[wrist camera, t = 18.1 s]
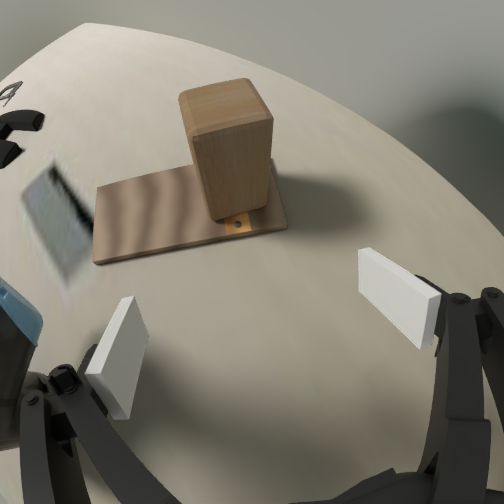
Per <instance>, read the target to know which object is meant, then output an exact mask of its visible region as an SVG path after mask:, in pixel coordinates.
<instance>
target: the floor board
mask: <svg viewBox="0 0 504 504" xmlns="http://www.w3.org/2000/svg"><path fill="white" fill-rule="evenodd" d="M287 226H288V223H287V220H286V217H285V213H284V210H283V206H282V203H281V200H280V196H279V193H278V190H277V186H276V183H275V180H274V176H273V173H272V170H271V167H270V171H269V183H268V195H267V204H266V205H265V206H264V207H262V208H258V209H255V210H251V211H248V212H244V213H241V214H237V215H234V216H230V217H227V218H223V219H220V220H217V221H212V220H211V219H210V218H209V217H208V213H207V210H206V207H205V203H204V200H203V196H202V193H201V189H200V186H199V182H198V179H197V175H196V171H195V167H194V164H193V165H188V166H183V167H179V168H174V169H169V170H165V171H160V172H156V173H151V174H147V175H143V176H139V177H135V178H131V179H127V180H123V181H119V182H116V183H112V184H108V185H105V186H101V187H98V188H97V195H96V205H95V217H94V232H93V256H92V262H93V263H94V264H96V265H98V264H103V263H108V262H113V261H118V260H123V259H128V258H133V257H138V256H143V255H148V254H153V253H158V252H163V251H168V250H174V249H179V248H184V247H189V246H194V245H200V244H205V243H210V242H216V241H221V240H227V239H232V238H237V237H243V236H248V235H254V234H260V233H265V232H271V231H276V230H282V229H287Z"/></svg>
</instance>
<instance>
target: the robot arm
mask: <svg viewBox="0 0 504 504" xmlns="http://www.w3.org/2000/svg"><path fill="white" fill-rule="evenodd" d="M358 261H359V292H360V293H362V294H363V295H364V296H365V297H366V298H367V299H368V300H369V301H370V302H371V303H372V304H373V305H374V306H375V307H376V308H377V309H378V310H379V311H381V312H382V313H383V314H384V315H385V316H386V317H387V318H388V319H389V320H390V321H391V322H392V323H393V324H394V325H395V326H396V327H397V328H398V329H399V330H400V331H401V332H402V333H403V334H404V335H405V336H406V337H407V338H408V339H409V340H410V341H411V342H412V343H413V344H414V345H415V346H416V347H417V348H418V349H419V350H421V349H424V348H426V347H428V346H430V345H432V342H433V338H434V334H435V335H436V336H437V337H438V338H439V340H438V345H437V349H436V353H435V357H437V363H436V375H435V385H434V394H433V402H432V409H431V415H430V421H429V427H428V432H427V438H426V442H425V447H424V452H423V456H422V460H421V463H420V465H419V468H418V470H417V472H404V473H398V474H396V473H395V471H394V469H393V468H391V469H389V470H386V471H384V472H382V473H380V474H377V475H375V476H373V477H370V478H368V479H365V480H363V481H361V482H360V483H358V484H357V485H355V486H354V487H352V488H351V489H349V490H347V491H346V492H344V493H342V494H341V495H339V496H337V497H336V498H334V499H331V500H326V501H314V502H298V503H290V504H504V492H502V491H497V490H491V489H486V486H487V479H488V470H489V460H490V445H491V422H490V420H489V419H484V392H483V375H482V366H483V369H484V372H485V374H486V377H487V380H488V382H489V385H490V388H491V391H492V394H493V397H494V400H495V403H496V407H497V410H498V413H499V417H500V420H501V424H502V428H503V432H504V293H503V292H502V291H501V290H499V289H497V288H494V287H487V288H484V289H483V290H482V292H481V297H480V298H478V299H472V300H471V298H470V297H469V296H468V295H465V294H463V293H452V294H448V293H447V292H445V291H444V290H442V289H441V288H439V287H438V286H436V285H435V284H433V283H432V282H430V281H429V280H427V279H426V278H424V277H421V276H418V275H413V274H411V273H409V272H408V271H406V270H405V269H403V268H402V267H400V266H399V265H397V264H395V263H394V262H392V261H391V260H389V259H387V258H386V257H384V256H383V255H381V254H379V253H378V252H376V251H374V250H373V249H371V248H369V247H368V248H364V249H359V250H358ZM42 327H43V319H42V316H41V314H40V313H39V311H38V310H37V309H36V308H35V307H34V306H33V305H32V304H31V303H30V302H29V301H28V300H26V299H25V298H24V297H23V296H22V295H21V294H20V293H18V292H17V291H16V290H15V289H14V288H13V287H11V286H10V285H9V284H8V283H7V282H6V281H4V280H3V279H2V278H1V277H0V451H3V450H9V449H14V448H19V447H20V467H21V480H22V490H23V499H24V504H91V501H90V498H89V495H88V492H87V489H86V485H85V482H84V478H83V474H82V470H81V467H80V462H79V458H78V454H77V449H76V444H75V439H74V437H78V438H79V440H80V442H81V443H82V445H83V447H84V449H85V450H86V452H87V454H88V455H89V457H90V459H91V460H92V462H93V464H94V465H95V467H96V468H97V470H98V471H99V473H100V474H101V476H102V477H103V479H104V480H105V482H106V483H107V485H108V486H109V488H110V489H111V490H112V492H113V493H114V494H115V496H116V497H117V498H118V500H119V501H120V502H121V504H182V503H181V502H179V501H178V500H177V499H176V498H175V497H174V496H173V495H172V494H171V493H170V492H169V491H168V490H167V489H166V488H165V487H164V486H163V485H162V484H161V483H160V482H159V481H158V480H157V479H156V478H155V477H154V476H153V475H152V474H151V473H150V471H149V470H148V469H147V468H146V467H145V466H144V465H143V464H142V463H141V462H140V460H139V459H138V458H137V457H136V456H135V455H134V453H133V452H132V451H131V450H130V449H129V447H128V446H127V445H126V444H125V442H124V441H123V440H122V439H121V437H120V436H119V435H118V434H117V432H116V431H115V430H114V428H113V427H112V426H111V424H110V423H109V422H108V420H107V419H106V417H107V413H108V412H109V414H110V415H111V416H112V418H113V419H114V420H129V418H130V413H131V408H132V404H133V399H134V395H135V390H136V386H137V382H138V378H139V373H140V369H141V365H142V361H143V357H144V354H145V350H146V346H147V342H148V338H149V334H148V332H147V329H146V327H145V324H144V322H143V319H142V316H141V313H140V311H139V308H138V305H137V302H136V300H135V297H134V296H131V297H125V298H122V300H121V301H120V303H119V305H118V307H117V309H116V311H115V313H114V315H113V316H112V318H111V320H110V322H109V324H108V326H107V328H106V330H105V332H104V334H103V336H102V338H101V340H100V342H99V344H94V345H93V346H92V347H91V348H90V349H89V350H88V351H87V353H86V355H85V357H84V359H83V361H82V364H81V365H80V367H79V369H78V371H77V373H76V371H75V370H74V368H73V367H72V366H71V365H69V364H64V365H60V366H58V367H56V368H54V369H53V370H52V371H51V372H50V373H49V375H48V377H47V376H45V375H44V374H41V373H38V372H30V371H27V370H28V368H29V365H30V362H31V359H32V356H33V353H34V351H35V348H36V347H37V346H38V343H37V342H38V339H39V336H40V333H41V330H42Z"/></svg>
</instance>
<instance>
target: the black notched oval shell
mask: <svg viewBox="0 0 504 504" xmlns="http://www.w3.org/2000/svg"><path fill="white" fill-rule="evenodd" d="M43 116H44V115H43V113H41V112H38V111H34V110H16V111H12V112H8V113H5V114H3V115H1V116H0V169H2V168H4V167H5V166H6V165H8V164H9V163H10V162H11V161H12V160H13V159H14V158H15V157H16V156H17V155H18V154H19V153H20V152H21V151H22V150H21V148H20V147H19V146H18V145H17V143H15V142H11V141H7V140H4V139H5V138H6V136H7V135H8V134H9V132H10V131H11V130H22V131H37V130H38V129H39V126H40V124H41V122H42V119H43Z"/></svg>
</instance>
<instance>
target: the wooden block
mask: <svg viewBox="0 0 504 504" xmlns="http://www.w3.org/2000/svg"><path fill="white" fill-rule="evenodd" d="M178 101H179V105H180V109H181V114H182V118H183V122H184V126H185V131H186V135H187V139H188V143H189V147H190V151H191V155H192V159H193V163H194V167H195V171H196V175H197V179H198V182H199V186H200V189H201V193H202V196H203V200H204V203H205V207H206V210H207V213H208V217H209V218H210V219H211V220H212V221H217V220H220V219H223V218H227V217H230V216H234V215H237V214H241V213H244V212H248V211H251V210H255V209H258V208H262V207H264V206H265V205H266V204H267V195H268V183H269V171H270V158H271V145H272V133H273V116H272V114H271V113H270V111H269V109H268V108H267V106H266V105H265V103H264V101H263V100H262V98H261V96H260V95H259V93H258V92H257V90H256V89H255V87H254V85H253V84H252V82H251V81H250V80H249V79H247V78H241V79H235V80H230V81H225V82H220V83H215V84H211V85H206V86H202V87H198V88H194V89H190V90H186V91H183V92H181V93H180V95H179V99H178Z"/></svg>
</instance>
